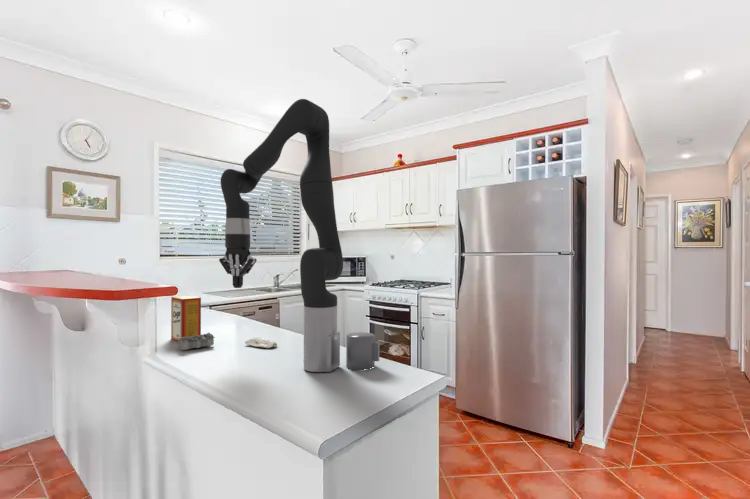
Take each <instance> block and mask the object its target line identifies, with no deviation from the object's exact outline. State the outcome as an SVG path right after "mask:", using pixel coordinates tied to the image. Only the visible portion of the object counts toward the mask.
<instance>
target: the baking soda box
mask: <svg viewBox="0 0 750 499" xmlns="http://www.w3.org/2000/svg"><path fill="white" fill-rule="evenodd" d="M170 301H171V304H170V305H171V311H170V312H171V313H170V314H171V316H170V318H171V319H170V322H171V325H170V326H171V330H170V331H171V332H170V333H171V335H170V336H171V337H170V338H171V339H170V340H172V341H175V342H177V343H178V339H179V338H181V337H191V336H196V335H202V332H201V328H202V326H201V325H202V321H201V319H202V318H201V317H202V316H201V315H202V298H201V297H200V296H194V295H181V296H180V295H179V296H172V297H171V300H170Z"/></svg>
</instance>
